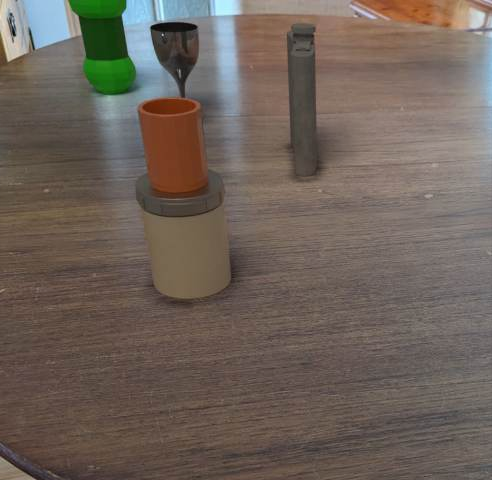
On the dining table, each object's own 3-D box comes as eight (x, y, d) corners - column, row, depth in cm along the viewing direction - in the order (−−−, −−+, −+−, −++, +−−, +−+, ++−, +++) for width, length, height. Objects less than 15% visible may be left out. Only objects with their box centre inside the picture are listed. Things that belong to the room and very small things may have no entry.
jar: (168, 306, 81) (152, 210, 74) (143, 271, 87) (126, 179, 80) (243, 287, 85) (235, 194, 78) (214, 255, 91) (204, 166, 84)
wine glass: (154, 119, 130) (140, 29, 121) (177, 107, 136) (165, 20, 127) (194, 125, 128) (183, 34, 119) (215, 112, 134) (206, 24, 125)
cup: (161, 197, 75) (149, 119, 70) (142, 176, 79) (129, 101, 74) (217, 186, 78) (209, 110, 73) (196, 166, 82) (187, 94, 77)
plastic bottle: (76, 88, 143) (46, -58, 128) (126, 79, 149) (103, -61, 134) (98, 101, 137) (69, -51, 122) (150, 92, 143) (128, -54, 128)
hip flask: (290, 140, 124) (285, 12, 112) (314, 140, 125) (311, 13, 113) (295, 176, 112) (290, 37, 100) (321, 176, 112) (319, 37, 100)
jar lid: (154, 223, 74) (151, 205, 73) (127, 190, 81) (124, 174, 79) (237, 205, 79) (236, 189, 77) (206, 176, 85) (204, 160, 84)
